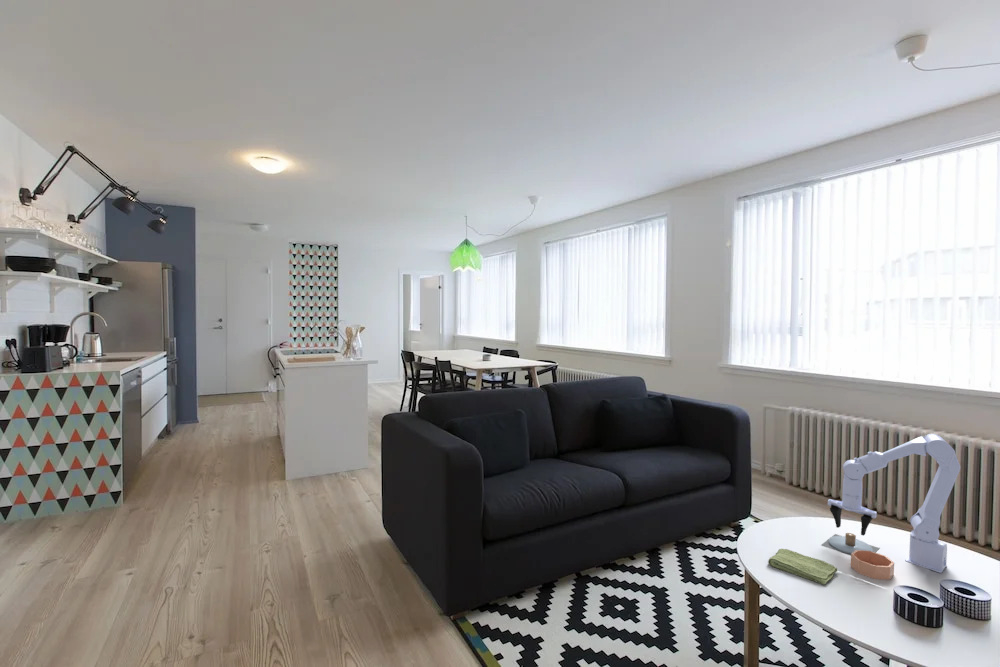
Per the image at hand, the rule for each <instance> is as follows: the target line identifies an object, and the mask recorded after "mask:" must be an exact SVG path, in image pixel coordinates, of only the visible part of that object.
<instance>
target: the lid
mask: <svg viewBox="0 0 1000 667" xmlns="http://www.w3.org/2000/svg"><path fill="white" fill-rule="evenodd" d="M832 536H833V535H832ZM832 536H830V537H829V538H828V539H829V544H830V545H831V546H832V547H834V548H835V549H837V550H839V551H842V552H845V553H848V554H852V553H853V552H854V551H855V550H867V551H872V552H873V549H872V547H871V546H870V545H871V544H868V543H867V542H865V541H863V540H860V539H857V537H856V536H857V535H856V534H854V533H850V532H846V533H845V536H843V535H840V536H833V537H832ZM839 551H838V552H839ZM842 552H841V553H842ZM845 553H844V554H845ZM848 554H847V555H848Z"/></svg>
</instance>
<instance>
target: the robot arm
mask: <svg viewBox="0 0 1000 667" xmlns="http://www.w3.org/2000/svg"><path fill="white" fill-rule="evenodd" d="M926 453H927V454H928V455H929V456H930V457H932V459H934V460H935V461H936V463H937V464H938V467H937V470H936V472H935V475H934V477H933V480H932V482H931V484H930V487H929V489H928V491H927V494H926V495H925V499H924V501H923V504H922V505H921V507H919V508H918V510H917V512H916V513H915V514H913V515H912V516H911V517H910V519H909V522H910V525H911V527H912V528H913V529H912V530H911V531H910V534H909V553H908V556H907V557H906V558H905V560H904V561H905V562H907V563H909V564H912V565H916V566H919V567H922V568H925V569H928V570H930V571H934V572H936V573H940V574H942V573H943V571H945V569H946V567H947V566H948V565H947V559H948V545H947V543H945V542H942V541H940V540H939V538H940V531H939V530H940V529H939V528H940V525H941V515H942V513H943V510H944V509H945V505H946V504H947V501H948V499H949V497H950V494H951V492H952V489H953V488H954V485H955V483H956V481H957V478H958V475H959V473H960V471H961V469H962V468H961V467H962V466H961V464H960V462H959V460H958V457H957V455H956V450H955V449H954V448H953V447H952V446H951V445H950V443H948V442H947V440H945V439H944V438H943V437H942V436H940V435H939V434H937V433H928V434H926V435H924V436H917V437H916V438H914V439H911V440H909V441H906V442H905V443H902V444H901V445H897V446H896V447H892V448H891V449H889V450H886V451H884V452H880V451H876V450H875V451H868V452H867V454H865V455H861V456H859V457H858V458H857V457H853V459H848V460H845V461H844V463H843V464H842V469H843V470H842V471H843V479H842V498H841V499H842V500H836V499H831V498H829V499H828V500H827V506H829V507H830V508H829V511H830V513H831V515H832V516H833V519H834V523H835V528H840V527H842V525H841V524H842V520H841V519H842V510H845V511H847V512H853V513H856V514H860V515H861V516H860V522H861V523H860V524H861V529H860V535H861V536H865V535H866V533H867V528H868V527H869V525H870V524H871V521H872V520H873V519H876V518H877V517H878V513H877V512H878V511H875V510H872V509H869V508H867V507H865V506H862V503H863V502H862V501H863V500H862V499H863V477H865V474H870V473H872V472H876V471H879V470H882V469H883V468H884V469H885V468H886V467H887V466H888V463H890V462H892V461H896V460H899V459H901V458H905V457H907V456H910V455H920V456H924V457H927V454H926Z"/></svg>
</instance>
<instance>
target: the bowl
mask: <svg viewBox="0 0 1000 667" xmlns="http://www.w3.org/2000/svg"><path fill="white" fill-rule="evenodd" d="M850 567H851V568H852V569H853V570H854V571H855V572H857V574H860V575H863V576H865V577H869V578H870V579H871V578H872V579H874V580H886V581H887V580H888V581H889V580H891V579H892V578H893V577H894V575H895V562H894V561H892V559H891V558H889V557H888V556H887V555H884V554H881V553H877V552H876V553H875V552H872V551H867V550H855V551H854V552H853V553H852V554H851V555H850Z"/></svg>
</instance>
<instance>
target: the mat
mask: <svg viewBox="0 0 1000 667" xmlns="http://www.w3.org/2000/svg"><path fill="white" fill-rule="evenodd" d="M833 536H841V535H840V534H836V533H834V534H833V535H832V536H831V537H833ZM869 545H870V546H871V547H872V549H873V552H875V553H877V552H878V551H879V550H880V549H881V548H880V547H878V546H876V545H875V546H874V545H871V544H869ZM821 546H822V547H825V548H828V549H831V550H834V551H837V552H839V553H843V554H845V555H849V556H851V554H848V553H845V552H842V551H839V550H837V549H835V548H834V547H832V546H831V545H830V544H829V538H828V539H827V540H826V541H824V542H823V543H822V544H821Z"/></svg>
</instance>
